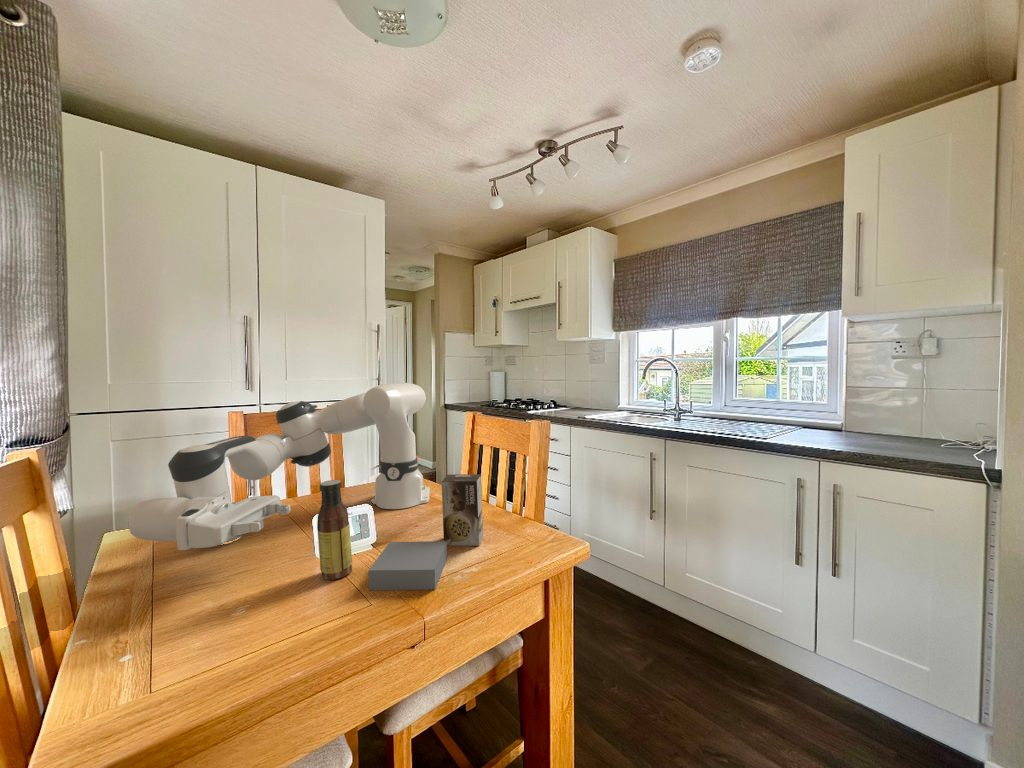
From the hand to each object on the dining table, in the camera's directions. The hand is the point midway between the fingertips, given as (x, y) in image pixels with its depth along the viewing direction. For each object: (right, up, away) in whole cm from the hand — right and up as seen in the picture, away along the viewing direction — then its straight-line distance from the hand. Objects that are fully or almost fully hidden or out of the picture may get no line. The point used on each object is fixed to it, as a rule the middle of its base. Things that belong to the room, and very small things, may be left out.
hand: (275, 517), depth 85 cm
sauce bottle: (+13, -12, 0) cm, 18 cm away
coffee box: (+38, -11, +16) cm, 43 cm away
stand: (+29, -12, 0) cm, 31 cm away
